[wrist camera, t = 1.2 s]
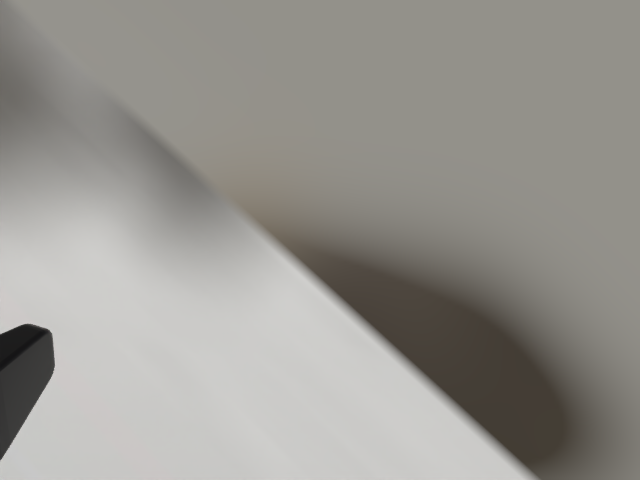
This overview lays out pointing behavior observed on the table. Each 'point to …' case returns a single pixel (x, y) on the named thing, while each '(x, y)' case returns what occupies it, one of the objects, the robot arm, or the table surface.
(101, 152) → the table surface
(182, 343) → the table surface
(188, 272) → the table surface
